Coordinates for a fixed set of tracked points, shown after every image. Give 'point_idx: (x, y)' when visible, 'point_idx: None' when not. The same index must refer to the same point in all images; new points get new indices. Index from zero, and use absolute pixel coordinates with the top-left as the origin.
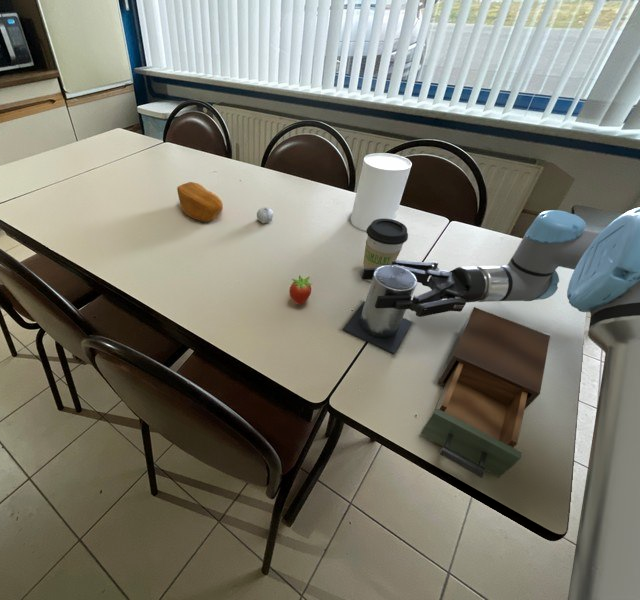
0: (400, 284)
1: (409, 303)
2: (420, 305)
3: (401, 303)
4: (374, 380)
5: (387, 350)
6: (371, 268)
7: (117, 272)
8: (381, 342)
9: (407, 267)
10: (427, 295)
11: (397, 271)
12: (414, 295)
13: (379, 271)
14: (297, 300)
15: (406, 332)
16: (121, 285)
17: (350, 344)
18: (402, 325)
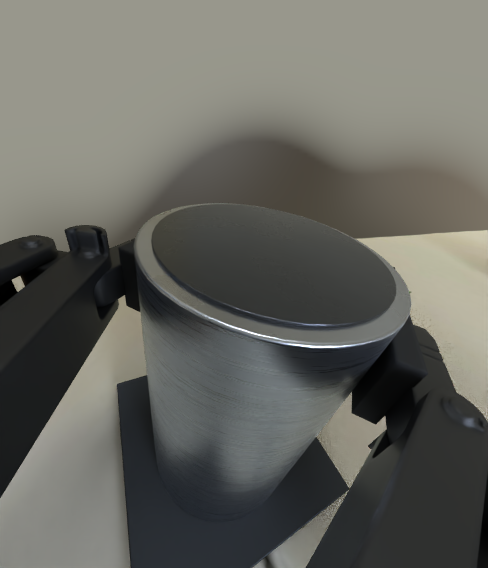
0: (208, 221)
1: (114, 250)
2: (48, 241)
3: None
4: (119, 309)
5: (138, 378)
6: None
7: (413, 241)
8: None
9: (470, 539)
10: (15, 315)
11: (324, 275)
12: (104, 232)
13: (339, 235)
14: None
15: (127, 517)
16: (391, 237)
17: None
18: (164, 541)
